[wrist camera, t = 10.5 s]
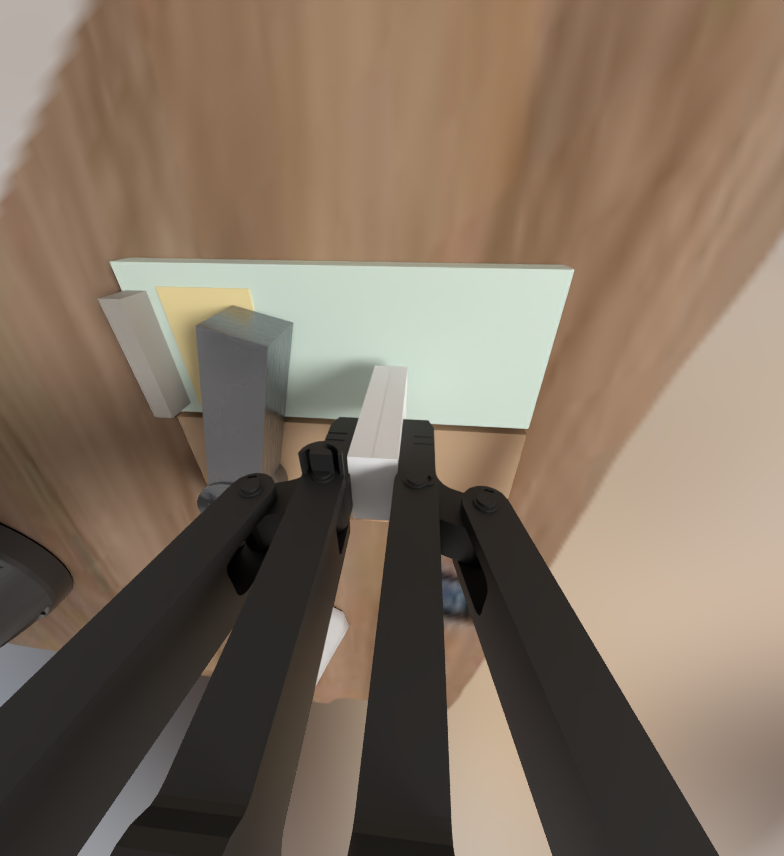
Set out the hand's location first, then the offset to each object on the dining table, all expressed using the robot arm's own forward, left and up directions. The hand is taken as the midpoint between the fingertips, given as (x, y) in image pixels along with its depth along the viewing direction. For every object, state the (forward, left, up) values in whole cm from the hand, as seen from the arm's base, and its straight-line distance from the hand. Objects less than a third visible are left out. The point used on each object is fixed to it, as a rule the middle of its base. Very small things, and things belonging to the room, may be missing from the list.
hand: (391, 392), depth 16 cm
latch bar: (-8, -3, -1) cm, 8 cm away
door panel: (-3, +1, -3) cm, 4 cm away
